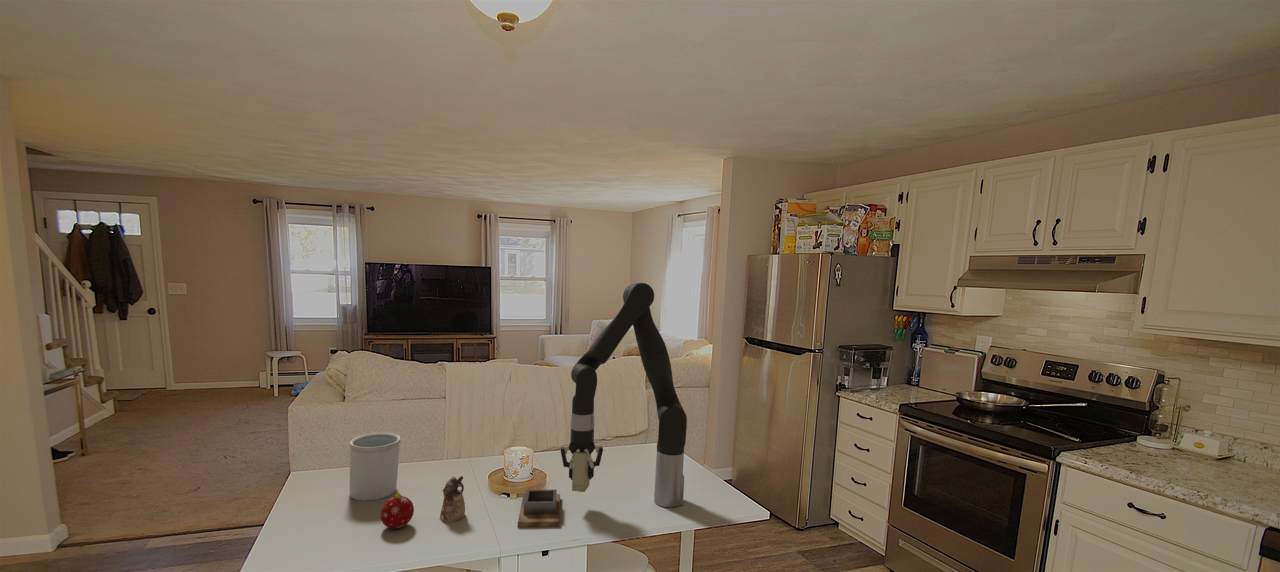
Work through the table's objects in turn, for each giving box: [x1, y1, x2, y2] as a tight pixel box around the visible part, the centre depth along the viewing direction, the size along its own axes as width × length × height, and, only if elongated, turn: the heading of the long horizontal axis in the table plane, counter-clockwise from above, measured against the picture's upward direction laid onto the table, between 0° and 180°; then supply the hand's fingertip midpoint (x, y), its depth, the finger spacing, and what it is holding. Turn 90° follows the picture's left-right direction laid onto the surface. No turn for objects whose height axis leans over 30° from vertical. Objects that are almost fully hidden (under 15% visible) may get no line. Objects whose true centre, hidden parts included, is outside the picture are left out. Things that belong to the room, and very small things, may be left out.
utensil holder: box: [349, 432, 402, 502], centre depth 166 cm, size 15×15×18 cm
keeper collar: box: [523, 489, 558, 515], centre depth 158 cm, size 10×10×4 cm
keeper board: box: [517, 493, 561, 528], centre depth 158 cm, size 12×19×2 cm, turn 8°
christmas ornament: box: [380, 491, 415, 530], centre depth 145 cm, size 9×9×10 cm
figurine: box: [439, 475, 466, 523], centre depth 152 cm, size 7×7×12 cm
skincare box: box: [571, 452, 591, 493], centre depth 162 cm, size 6×4×12 cm
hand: (581, 478), depth 162 cm, fingers closed on skincare box, 5 cm apart
